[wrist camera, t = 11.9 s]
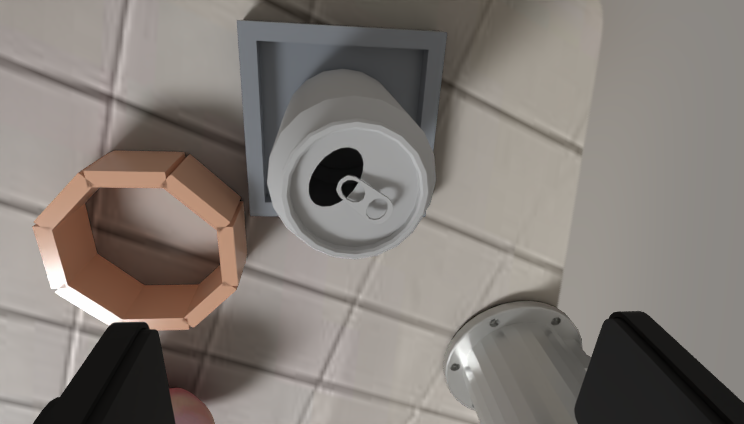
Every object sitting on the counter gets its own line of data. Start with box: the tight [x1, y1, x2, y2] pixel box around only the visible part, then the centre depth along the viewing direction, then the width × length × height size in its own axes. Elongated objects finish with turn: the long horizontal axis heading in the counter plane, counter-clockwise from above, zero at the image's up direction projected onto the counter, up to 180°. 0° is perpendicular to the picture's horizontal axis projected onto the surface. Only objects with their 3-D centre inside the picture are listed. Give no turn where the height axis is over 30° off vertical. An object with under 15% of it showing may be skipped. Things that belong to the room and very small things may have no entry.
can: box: [267, 69, 436, 259], centre depth 23 cm, size 8×8×12 cm
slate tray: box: [237, 20, 447, 217], centre depth 28 cm, size 12×12×2 cm
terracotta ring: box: [33, 150, 247, 330], centre depth 29 cm, size 12×12×4 cm
